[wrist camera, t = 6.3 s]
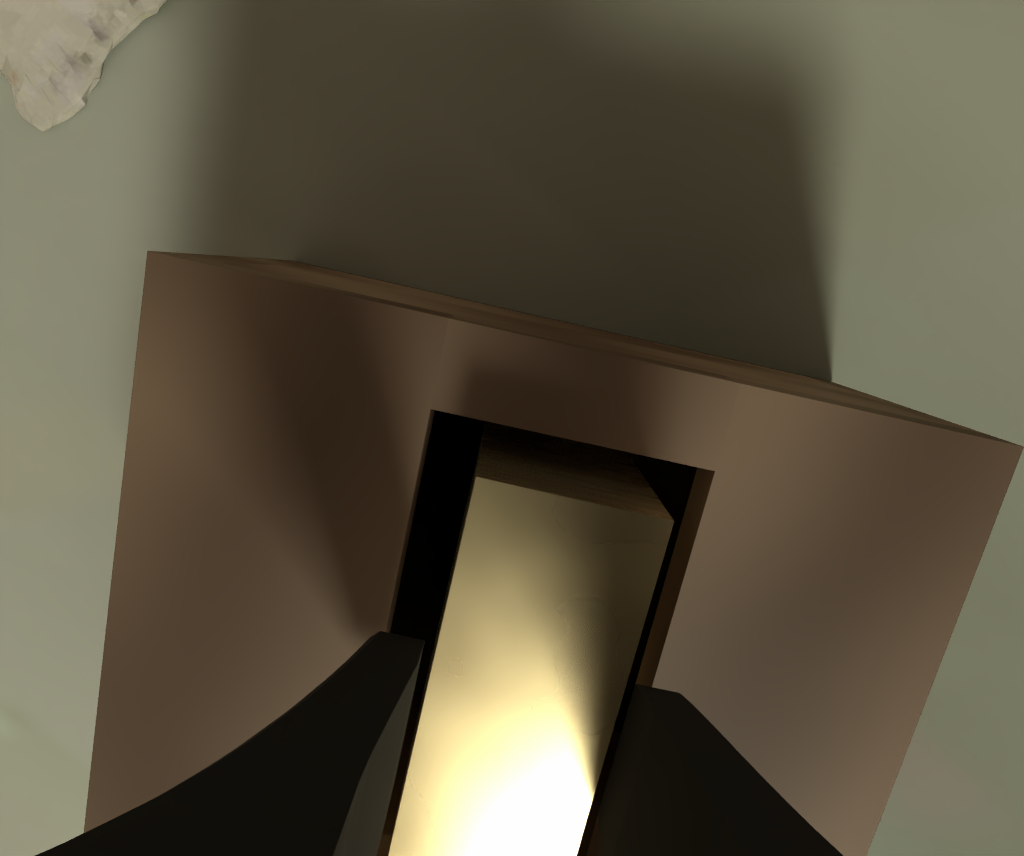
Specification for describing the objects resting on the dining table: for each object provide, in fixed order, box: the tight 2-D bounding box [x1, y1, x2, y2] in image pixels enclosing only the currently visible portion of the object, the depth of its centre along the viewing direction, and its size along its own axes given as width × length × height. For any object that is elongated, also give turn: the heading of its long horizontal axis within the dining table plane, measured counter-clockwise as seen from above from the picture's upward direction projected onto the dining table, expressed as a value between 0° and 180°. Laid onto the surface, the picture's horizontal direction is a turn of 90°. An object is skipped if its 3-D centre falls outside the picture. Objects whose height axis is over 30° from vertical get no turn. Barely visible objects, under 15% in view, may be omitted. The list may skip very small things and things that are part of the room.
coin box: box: [84, 251, 1024, 856], centre depth 13 cm, size 12×10×6 cm
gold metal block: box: [388, 421, 674, 856], centre depth 11 cm, size 2×6×4 cm, turn 167°
